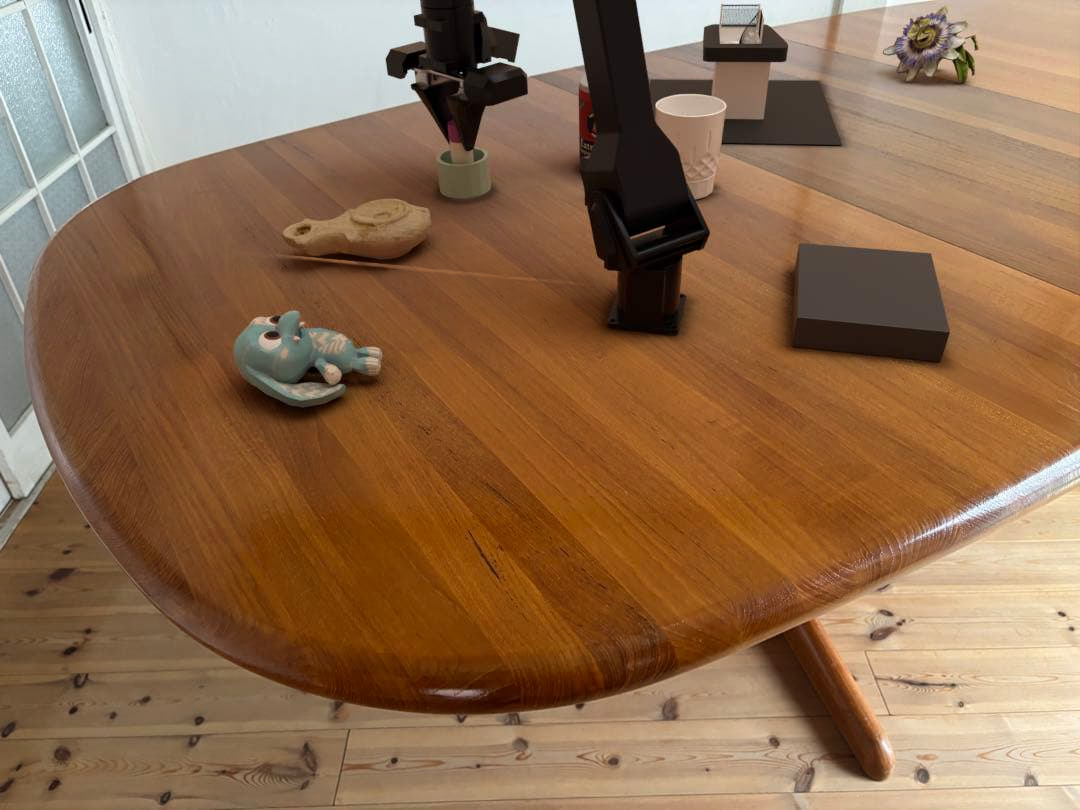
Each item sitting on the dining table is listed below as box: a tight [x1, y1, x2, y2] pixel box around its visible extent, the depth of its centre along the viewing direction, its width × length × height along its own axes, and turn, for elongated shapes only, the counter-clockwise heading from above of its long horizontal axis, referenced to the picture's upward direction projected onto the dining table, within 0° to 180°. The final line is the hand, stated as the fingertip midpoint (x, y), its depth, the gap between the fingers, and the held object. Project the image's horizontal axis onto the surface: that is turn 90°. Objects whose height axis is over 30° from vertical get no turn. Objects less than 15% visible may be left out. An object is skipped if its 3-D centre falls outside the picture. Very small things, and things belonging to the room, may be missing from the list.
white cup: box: [655, 94, 726, 201], centre depth 95 cm, size 8×8×10 cm
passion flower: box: [882, 5, 980, 85], centre depth 127 cm, size 11×11×12 cm
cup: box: [435, 146, 492, 200], centre depth 99 cm, size 6×6×4 cm
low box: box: [791, 242, 951, 363], centre depth 74 cm, size 14×12×3 cm
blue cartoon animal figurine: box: [232, 309, 384, 408], centre depth 68 cm, size 11×7×12 cm
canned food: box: [578, 74, 596, 161], centre depth 101 cm, size 8×8×11 cm
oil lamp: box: [281, 198, 433, 260], centre depth 86 cm, size 11×14×5 cm
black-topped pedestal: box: [649, 3, 843, 146], centre depth 116 cm, size 28×26×13 cm
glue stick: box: [447, 120, 474, 164], centre depth 97 cm, size 3×3×8 cm
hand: (461, 147), depth 97 cm, fingers closed on glue stick, 3 cm apart
